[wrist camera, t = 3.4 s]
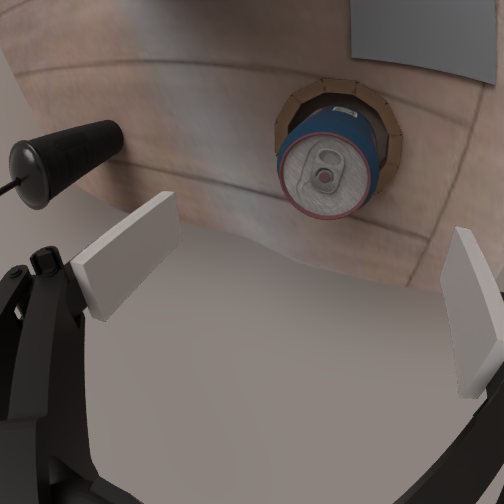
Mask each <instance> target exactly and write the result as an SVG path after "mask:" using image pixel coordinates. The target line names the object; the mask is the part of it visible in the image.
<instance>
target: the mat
mask: <svg viewBox="0 0 504 504" xmlns="http://www.w3.org/2000/svg"><path fill="white" fill-rule="evenodd" d="M350 13H351V50H352V58H359V59H369V60H378V61H385V62H393V63H400V64H406V65H412V66H418V67H423V68H428V69H433V70H438V71H443V72H447V73H451V74H456V75H460V76H464V77H468V78H471V79H475V80H479V81H482V82H486V83H489V84H492V85H496V71H497V33H496V14H495V2H494V0H350Z"/></svg>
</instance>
